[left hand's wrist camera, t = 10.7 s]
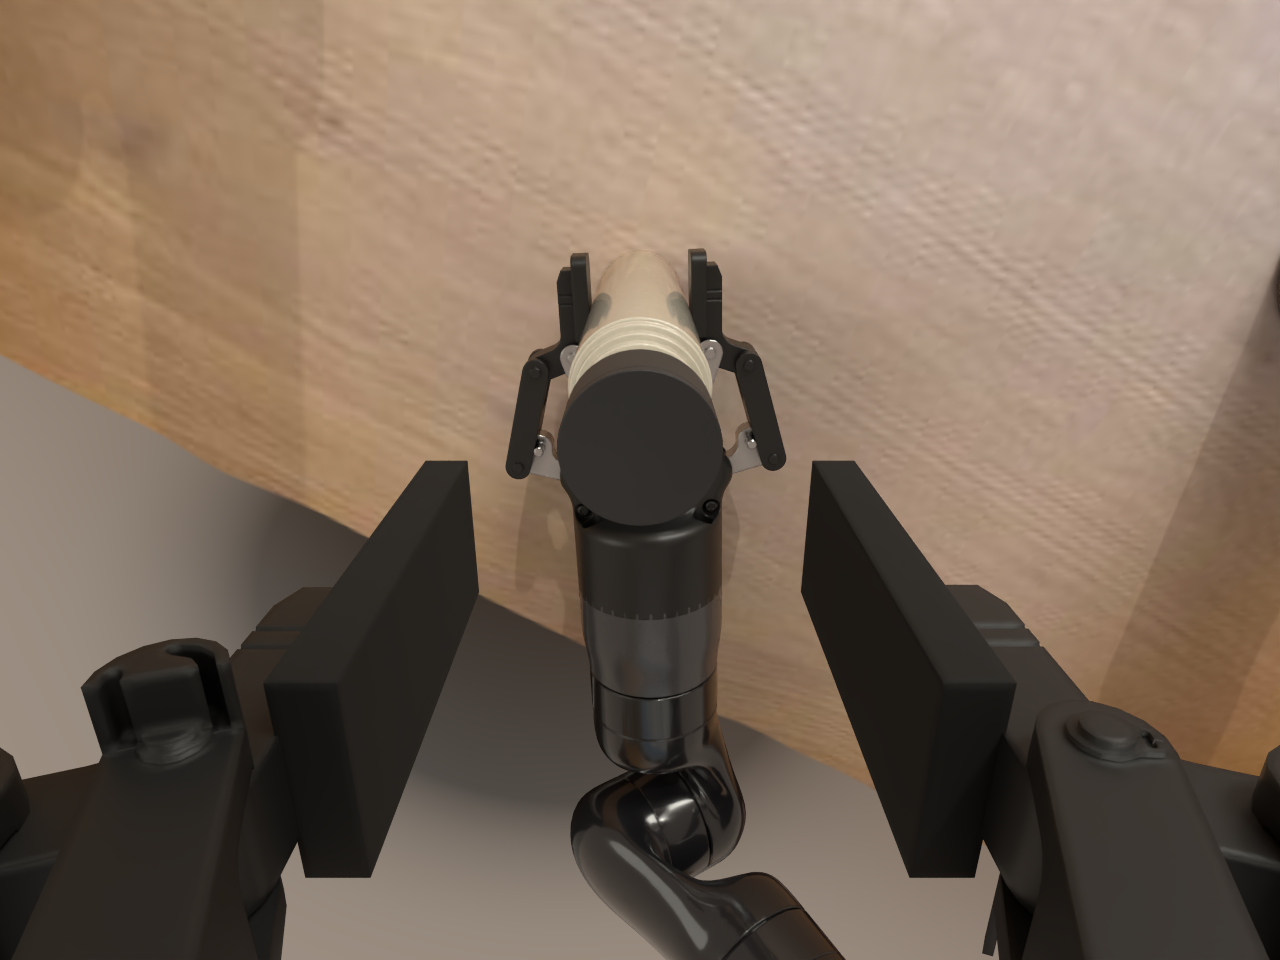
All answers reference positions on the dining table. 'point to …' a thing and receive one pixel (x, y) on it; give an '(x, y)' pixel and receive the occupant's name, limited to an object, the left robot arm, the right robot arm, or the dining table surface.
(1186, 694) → the dining table surface
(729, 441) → the dining table surface
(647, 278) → the bottle
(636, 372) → the cap
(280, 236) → the dining table surface
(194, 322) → the dining table surface
